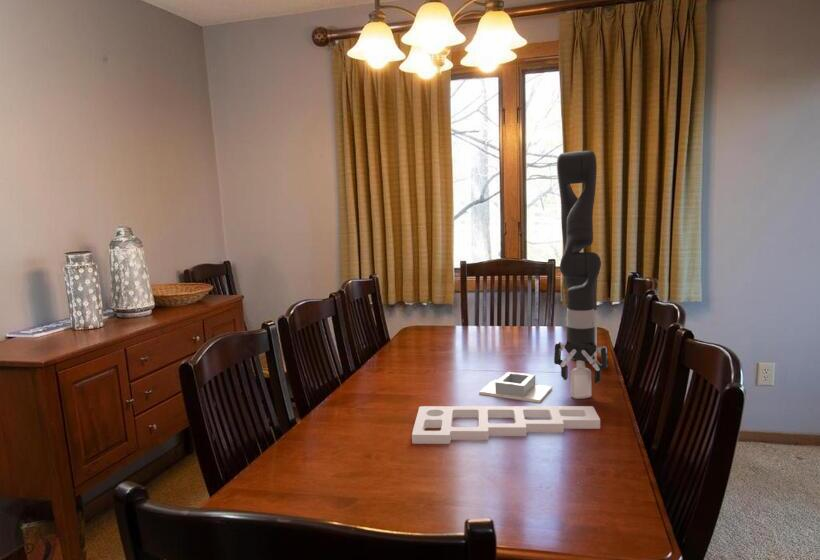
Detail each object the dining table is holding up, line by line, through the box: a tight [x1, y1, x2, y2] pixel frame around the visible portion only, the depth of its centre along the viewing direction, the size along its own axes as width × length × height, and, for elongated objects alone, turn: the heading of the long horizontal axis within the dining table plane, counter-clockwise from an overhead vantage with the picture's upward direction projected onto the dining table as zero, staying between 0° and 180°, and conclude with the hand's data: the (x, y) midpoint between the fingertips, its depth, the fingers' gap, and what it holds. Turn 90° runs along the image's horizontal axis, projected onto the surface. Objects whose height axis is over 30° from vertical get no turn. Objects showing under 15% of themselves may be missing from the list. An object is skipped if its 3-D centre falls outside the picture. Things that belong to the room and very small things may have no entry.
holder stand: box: [478, 371, 553, 404], centre depth 160 cm, size 12×18×4 cm, turn 60°
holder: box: [411, 405, 601, 445], centre depth 135 cm, size 45×18×3 cm, turn 83°
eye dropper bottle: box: [569, 360, 592, 400], centre depth 153 cm, size 4×6×12 cm
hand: (580, 380), depth 153 cm, fingers open, 8 cm apart
